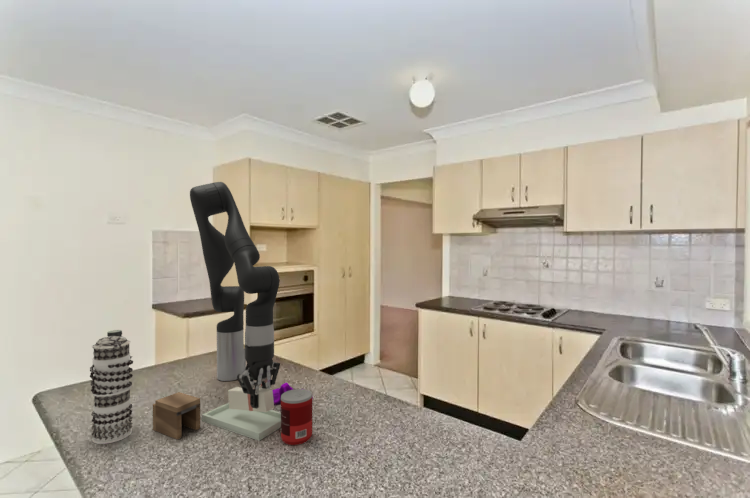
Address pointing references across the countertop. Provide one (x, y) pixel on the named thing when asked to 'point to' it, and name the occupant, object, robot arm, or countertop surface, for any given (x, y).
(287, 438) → the canned food
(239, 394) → the pink-banded white block
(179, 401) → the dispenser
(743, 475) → the countertop surface
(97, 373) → the decorative candle
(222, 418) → the tray
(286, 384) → the cloth
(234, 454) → the countertop surface
